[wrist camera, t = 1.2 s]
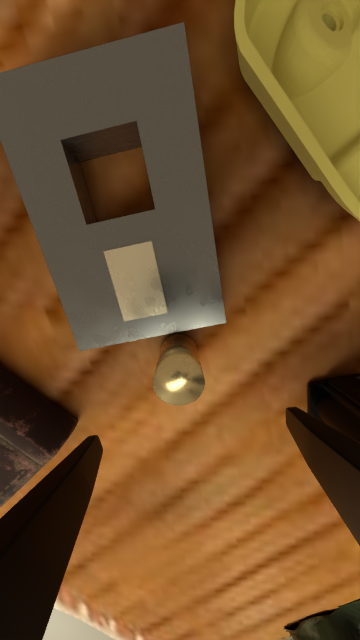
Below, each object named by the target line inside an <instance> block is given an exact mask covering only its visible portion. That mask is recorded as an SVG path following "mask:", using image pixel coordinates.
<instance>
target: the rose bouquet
mask: <svg viewBox="0 0 360 640" xmlns="http://www.w3.org/2000/svg"><path fill="white" fill-rule="evenodd" d="M338 607H339V609H336V610H335V611H334V612H333V613H331V614H330V615H324V616H316V617H312V618H309V619H306V620H304V621H302V622H300V624H299V625H298V626H297V628H296V629H295V630H287V629H284V630H286V631H287V632H289V633H290V634H291V637H286V638H288V639H290V640H360V600H358V601H355V602H352V603H349V604H346V605H343V606H338ZM282 639H285V638H282ZM280 640H281V639H280Z"/></svg>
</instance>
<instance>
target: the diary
mask: <svg viewBox="0 0 360 640" xmlns="http://www.w3.org/2000/svg"><path fill="white" fill-rule="evenodd" d="M77 423H78V421H77V420H75V419H74V418H73V417H71V416H70V415H68V414H67V413H65V412H64V411H62V410H61V409H60V408H58V407H57V406H55V405H54V404H52V403H51V402H49V401H48V400H46V399H45V398H43V397H42V396H40V395H39V394H37V393H36V392H34V391H33V390H31V389H30V388H29V387H27V386H26V385H25V384H23V383H22V382H21V381H19V380H18V379H17V378H16V377H14V376H13V375H12V374H10V373H9V372H8V371H6V370H5V369H4V368H2V367H1V366H0V507H1V506H2V505H3V504H5V503H6V502H7V501H8V500H9V499H10V498H11V497H12V496H13V495H14V494H15V493H16V492H17V491H18V490H19V489H20V488H21V487H22V486H23V485H24V484H25V483H27V482H28V481H29V480H30V479H31V478H32V477H33V476H34V475H35V474H36V473H37V472H38V471H39V470H40V469H41V468H42V467H43V466H44V465H45V464H46V463H47V462H48V461H49V460H51V459H52V458H53V457H54V456H55V455H56V454H57V452H58V451H59V450H60V448H61V447H62V446H63V444H64V443H65V442H66V440H67V439H68V438H69V436H70V435H71V433H72V432H73V430H74V429H75V427H76V425H77Z"/></svg>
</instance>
